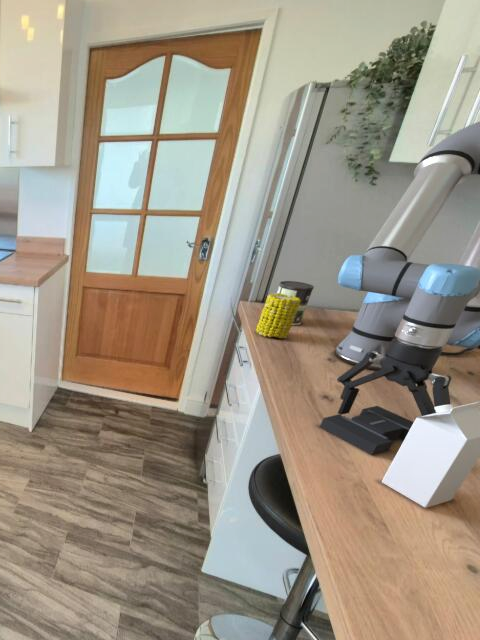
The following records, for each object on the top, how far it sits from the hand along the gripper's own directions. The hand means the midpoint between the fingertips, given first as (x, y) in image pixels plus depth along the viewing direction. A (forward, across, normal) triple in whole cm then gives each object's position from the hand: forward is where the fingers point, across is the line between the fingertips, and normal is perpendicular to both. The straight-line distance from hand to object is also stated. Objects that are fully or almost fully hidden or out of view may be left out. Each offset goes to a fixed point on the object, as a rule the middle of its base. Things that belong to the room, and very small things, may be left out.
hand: (374, 428), depth 96 cm
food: (+1, -52, +32) cm, 61 cm away
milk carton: (+1, +16, -13) cm, 20 cm away
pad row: (+1, 0, 0) cm, 1 cm away
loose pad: (+1, 0, 0) cm, 1 cm away
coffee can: (+1, -62, +49) cm, 79 cm away
